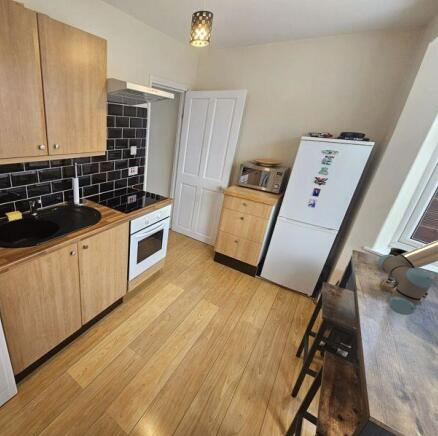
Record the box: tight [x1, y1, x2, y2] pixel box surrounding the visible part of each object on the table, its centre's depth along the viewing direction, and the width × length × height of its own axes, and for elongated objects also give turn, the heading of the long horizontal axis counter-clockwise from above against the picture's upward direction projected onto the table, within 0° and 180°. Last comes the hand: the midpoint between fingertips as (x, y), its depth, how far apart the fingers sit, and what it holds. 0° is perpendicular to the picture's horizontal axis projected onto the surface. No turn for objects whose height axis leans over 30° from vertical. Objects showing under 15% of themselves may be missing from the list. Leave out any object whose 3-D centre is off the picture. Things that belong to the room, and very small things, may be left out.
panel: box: [380, 278, 423, 305], centre depth 119 cm, size 14×10×3 cm
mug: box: [387, 247, 408, 256], centre depth 139 cm, size 11×15×12 cm
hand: (409, 275), depth 119 cm, fingers open, 6 cm apart
